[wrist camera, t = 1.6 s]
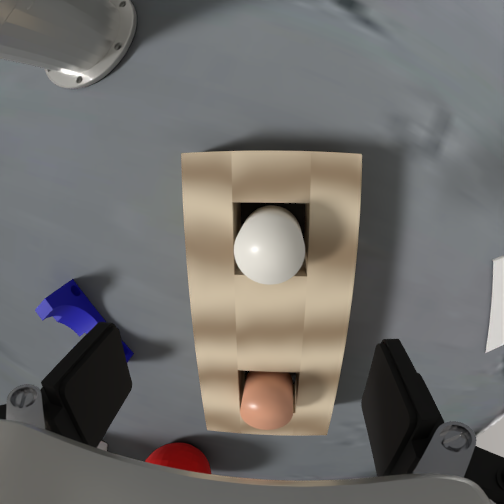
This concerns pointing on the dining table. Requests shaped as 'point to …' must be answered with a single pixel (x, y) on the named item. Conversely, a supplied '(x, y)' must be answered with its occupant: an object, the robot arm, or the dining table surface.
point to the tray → (497, 307)
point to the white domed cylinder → (270, 245)
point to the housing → (277, 295)
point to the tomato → (180, 458)
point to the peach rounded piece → (267, 399)
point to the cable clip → (73, 311)
